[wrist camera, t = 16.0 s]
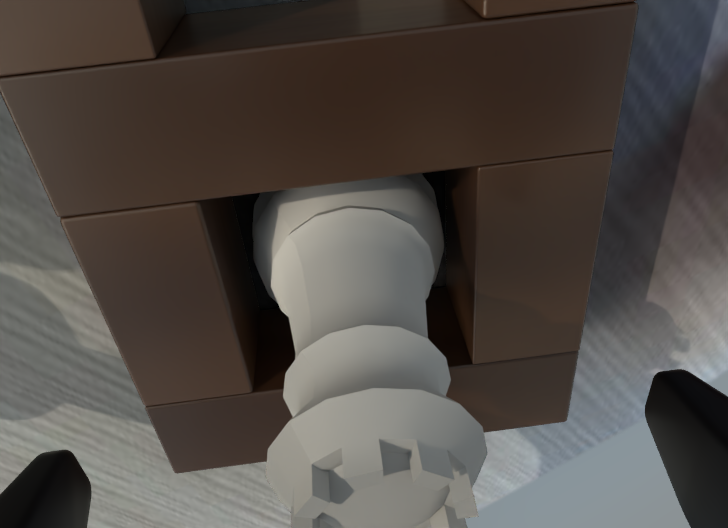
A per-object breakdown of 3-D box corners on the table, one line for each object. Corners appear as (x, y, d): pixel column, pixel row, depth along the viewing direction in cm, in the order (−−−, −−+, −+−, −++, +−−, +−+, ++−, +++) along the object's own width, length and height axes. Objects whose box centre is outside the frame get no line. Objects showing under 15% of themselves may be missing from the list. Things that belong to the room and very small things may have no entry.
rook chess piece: (215, 229, 14) (146, 554, 8) (336, 91, 13) (377, 356, 6) (352, 316, 16) (390, 632, 10) (473, 207, 14) (615, 500, 8)
